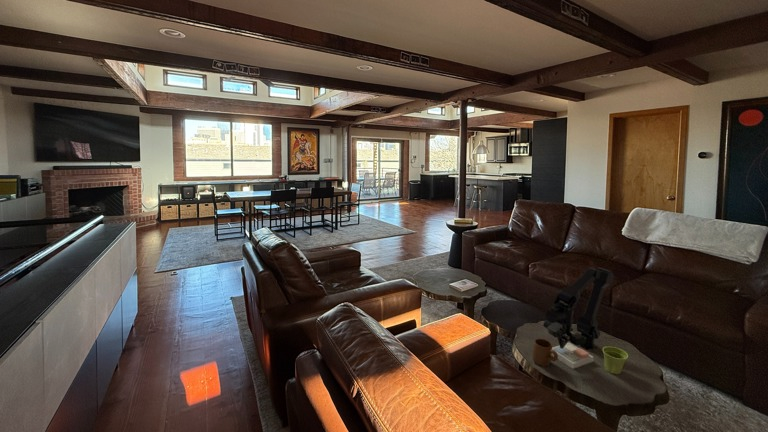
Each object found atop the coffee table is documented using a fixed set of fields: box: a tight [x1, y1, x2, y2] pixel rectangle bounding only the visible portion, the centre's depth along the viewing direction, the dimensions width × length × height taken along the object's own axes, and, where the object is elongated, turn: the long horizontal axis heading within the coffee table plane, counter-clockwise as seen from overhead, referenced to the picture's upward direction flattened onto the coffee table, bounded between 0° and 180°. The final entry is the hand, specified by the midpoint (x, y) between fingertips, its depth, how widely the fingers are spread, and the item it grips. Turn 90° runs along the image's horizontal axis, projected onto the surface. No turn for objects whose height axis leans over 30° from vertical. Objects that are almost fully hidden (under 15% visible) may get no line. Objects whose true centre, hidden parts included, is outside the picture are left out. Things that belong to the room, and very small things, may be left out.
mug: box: [532, 338, 558, 367], centre depth 163 cm, size 12×8×9 cm, turn 22°
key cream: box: [564, 344, 577, 352], centre depth 172 cm, size 4×4×2 cm
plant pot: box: [602, 346, 629, 375], centre depth 159 cm, size 9×9×9 cm
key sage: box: [565, 353, 580, 362], centre depth 165 cm, size 4×4×2 cm
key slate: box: [554, 347, 569, 355], centre depth 170 cm, size 4×4×2 cm
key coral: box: [573, 347, 590, 359], centre depth 167 cm, size 4×4×2 cm
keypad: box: [551, 342, 594, 370], centre depth 169 cm, size 13×13×3 cm
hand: (561, 348), depth 169 cm, fingers closed
